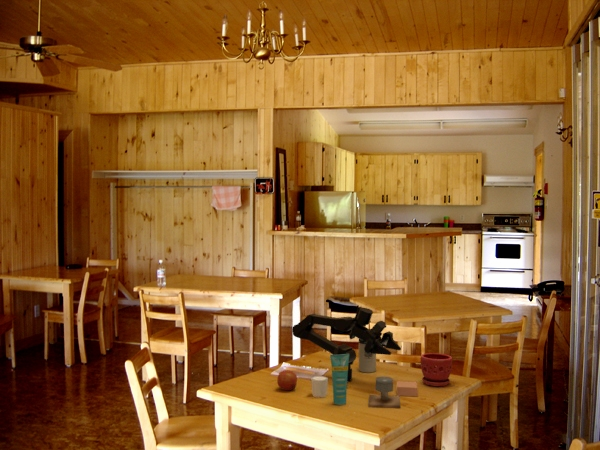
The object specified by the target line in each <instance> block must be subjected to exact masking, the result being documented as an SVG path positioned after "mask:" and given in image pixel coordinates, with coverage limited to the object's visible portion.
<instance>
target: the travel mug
mask: <svg viewBox="0 0 600 450" xmlns="http://www.w3.org/2000/svg"><path fill="white" fill-rule="evenodd" d="M365 344H366V343H362V340H360V339H359V338H358V371H359V372H362V373H367V374H368V373H375V372H376V371H377V354H371V353H370V354H368V353H366V352H365V350H364V347H365Z"/></svg>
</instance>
